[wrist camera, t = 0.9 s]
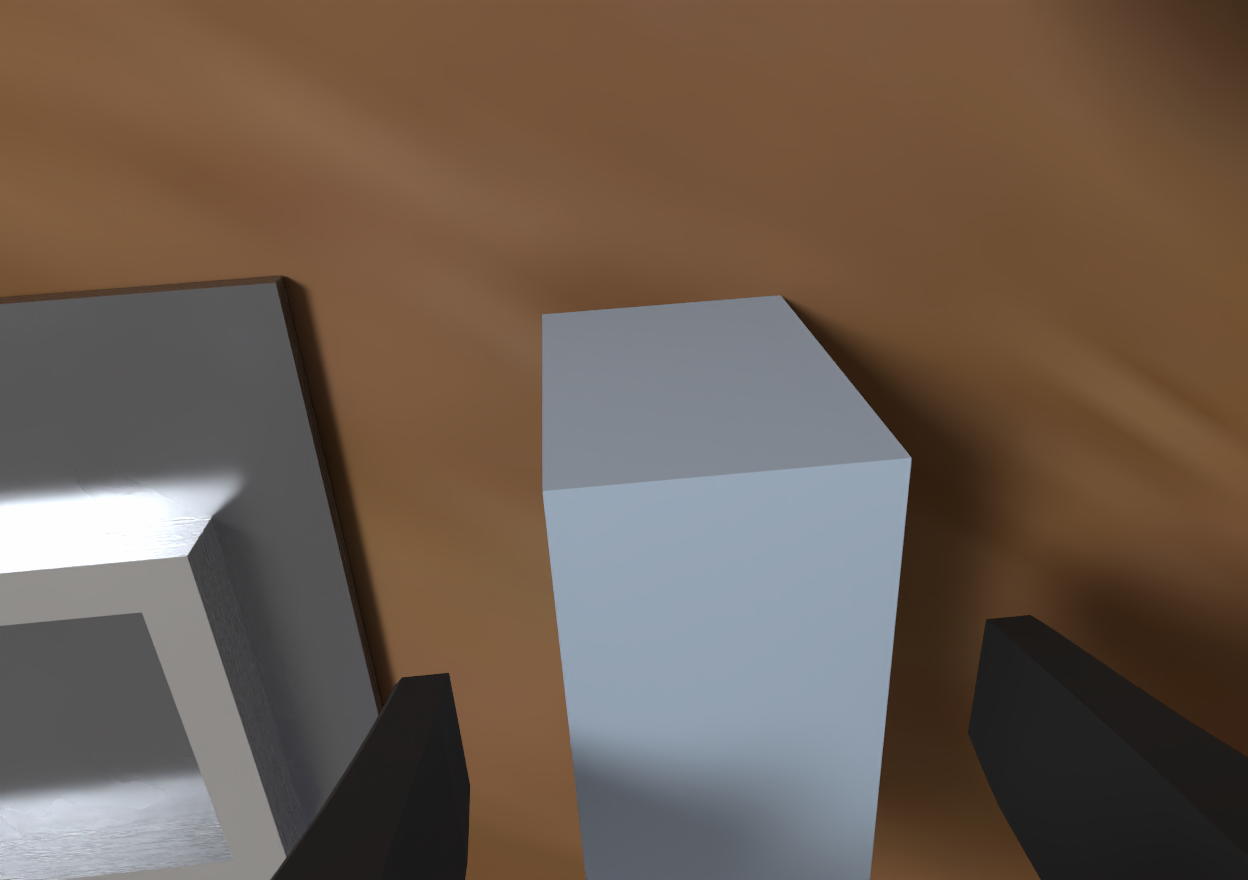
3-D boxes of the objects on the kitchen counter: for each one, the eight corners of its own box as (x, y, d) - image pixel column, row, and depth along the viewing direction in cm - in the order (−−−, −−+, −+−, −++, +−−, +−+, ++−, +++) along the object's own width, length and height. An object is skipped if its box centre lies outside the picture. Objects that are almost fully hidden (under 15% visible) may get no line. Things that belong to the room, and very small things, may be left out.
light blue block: (771, 665, 19) (863, 933, 13) (579, 683, 18) (595, 966, 13) (779, 293, 15) (912, 458, 10) (542, 313, 15) (542, 490, 9)
